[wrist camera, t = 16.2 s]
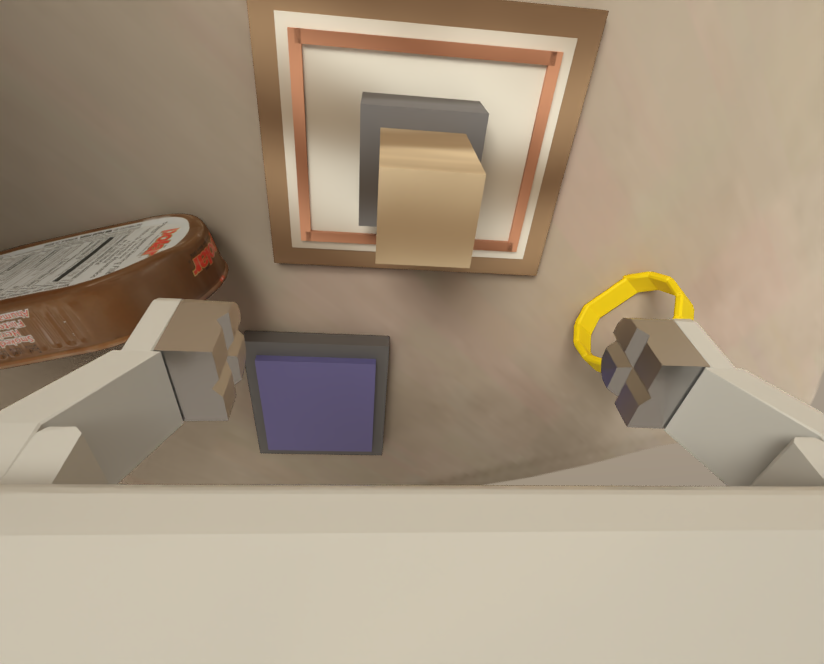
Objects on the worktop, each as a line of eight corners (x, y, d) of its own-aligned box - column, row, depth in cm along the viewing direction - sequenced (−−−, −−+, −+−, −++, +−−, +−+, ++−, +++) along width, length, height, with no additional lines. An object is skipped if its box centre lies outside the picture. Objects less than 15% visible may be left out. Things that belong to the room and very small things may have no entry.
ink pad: (245, 330, 28) (239, 346, 27) (389, 336, 29) (389, 351, 27) (263, 442, 34) (258, 459, 33) (382, 444, 35) (382, 461, 33)
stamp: (362, 91, 20) (353, 139, 14) (479, 101, 20) (516, 150, 15) (360, 205, 23) (352, 281, 17) (462, 211, 23) (487, 288, 18)
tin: (-10, 300, 26) (-148, 413, 19) (-56, 249, 24) (-225, 356, 17) (249, 244, 25) (198, 345, 18) (223, 186, 23) (155, 275, 16)
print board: (247, -26, 18) (242, -26, 17) (602, 10, 19) (611, 11, 18) (276, 257, 25) (273, 265, 24) (533, 270, 26) (537, 278, 26)
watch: (640, 247, 26) (705, 302, 21) (663, 277, 27) (730, 336, 22) (552, 316, 28) (594, 381, 23) (578, 341, 29) (622, 407, 25)
